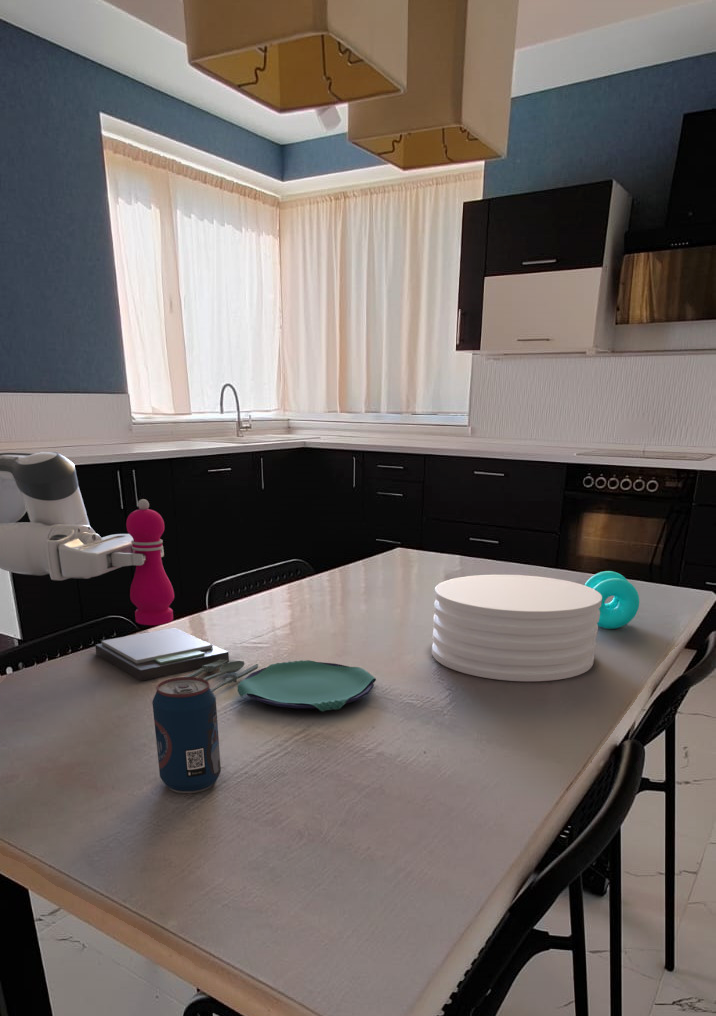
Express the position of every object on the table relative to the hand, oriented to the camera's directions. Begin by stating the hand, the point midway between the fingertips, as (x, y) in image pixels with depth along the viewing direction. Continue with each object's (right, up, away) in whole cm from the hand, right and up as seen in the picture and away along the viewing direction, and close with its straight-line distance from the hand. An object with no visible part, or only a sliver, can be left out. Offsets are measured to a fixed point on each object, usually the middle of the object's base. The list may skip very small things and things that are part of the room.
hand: (153, 555), depth 127 cm
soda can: (+14, -35, -37) cm, 53 cm away
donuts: (+84, -7, +29) cm, 90 cm away
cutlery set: (+22, -23, -8) cm, 32 cm away
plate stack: (+61, -16, +9) cm, 64 cm away
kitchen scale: (0, -16, +6) cm, 17 cm away
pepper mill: (-1, -10, +5) cm, 11 cm away
